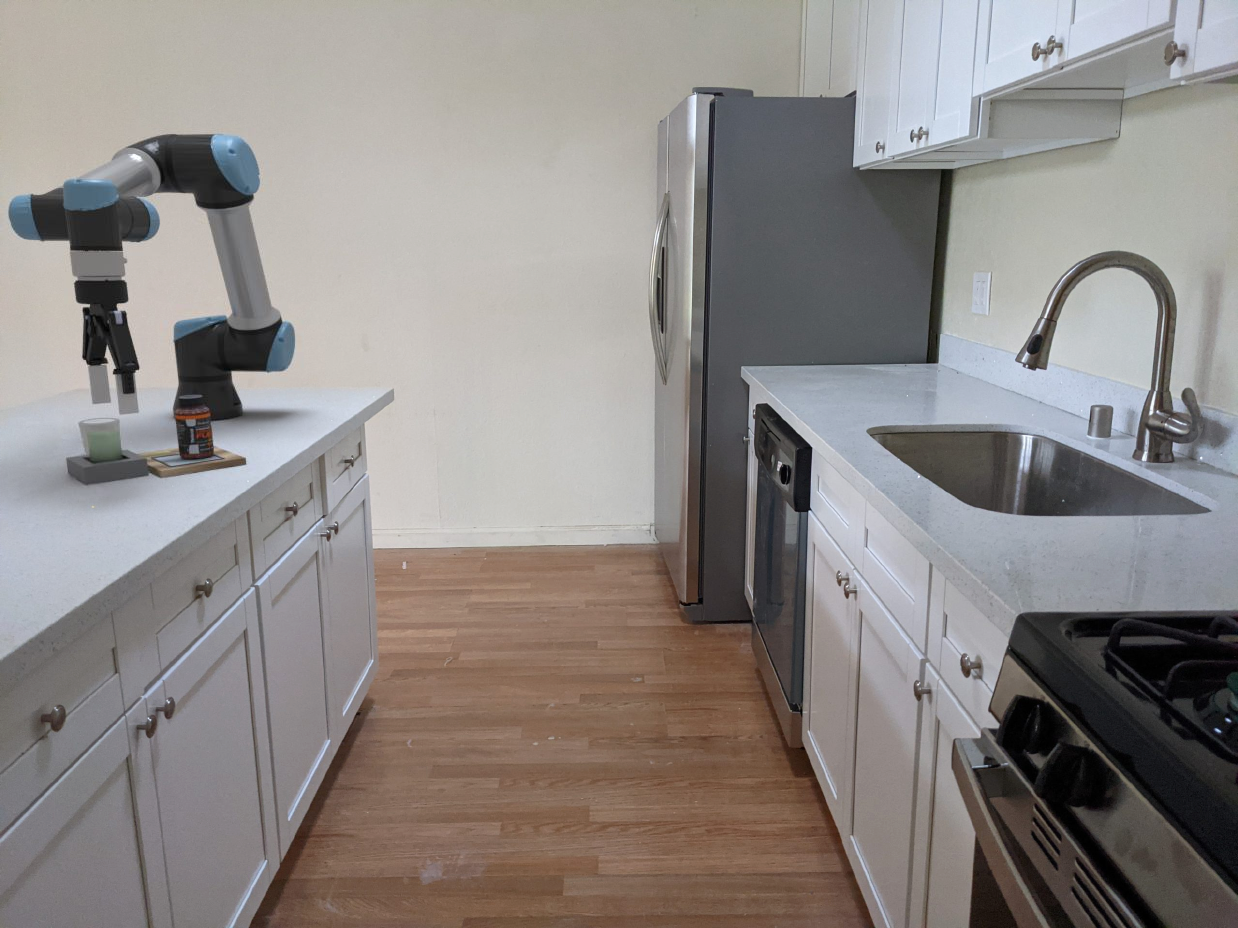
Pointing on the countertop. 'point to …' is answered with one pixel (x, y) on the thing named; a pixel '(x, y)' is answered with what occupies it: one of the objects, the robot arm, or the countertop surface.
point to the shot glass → (97, 428)
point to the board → (189, 462)
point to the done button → (104, 446)
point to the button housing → (107, 468)
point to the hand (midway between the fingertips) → (115, 408)
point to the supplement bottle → (194, 428)
